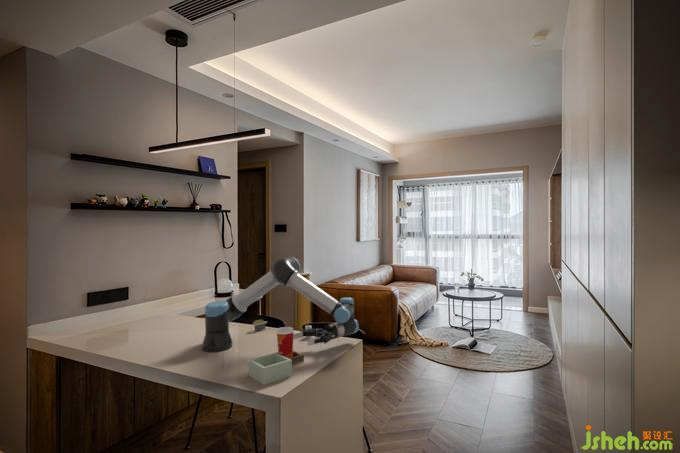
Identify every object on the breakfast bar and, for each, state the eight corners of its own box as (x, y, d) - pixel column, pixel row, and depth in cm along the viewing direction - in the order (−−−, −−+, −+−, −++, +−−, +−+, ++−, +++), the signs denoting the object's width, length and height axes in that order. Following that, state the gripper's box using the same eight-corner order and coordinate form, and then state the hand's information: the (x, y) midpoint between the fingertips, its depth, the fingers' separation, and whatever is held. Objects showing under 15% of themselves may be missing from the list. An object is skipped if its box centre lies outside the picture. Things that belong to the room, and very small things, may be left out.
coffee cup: (277, 358, 171) (276, 326, 172) (295, 357, 172) (294, 326, 172) (275, 365, 163) (275, 331, 163) (294, 364, 164) (293, 330, 164)
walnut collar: (267, 361, 168) (267, 354, 168) (289, 355, 176) (289, 348, 176) (281, 368, 159) (281, 361, 159) (303, 361, 167) (303, 354, 167)
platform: (241, 332, 221) (240, 321, 221) (264, 326, 235) (264, 316, 235) (253, 335, 213) (252, 324, 214) (276, 329, 227) (276, 318, 227)
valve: (301, 338, 204) (316, 342, 196) (301, 326, 204) (316, 330, 196) (310, 335, 209) (325, 339, 201) (310, 324, 209) (325, 327, 201)
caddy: (248, 375, 151) (248, 359, 151) (275, 367, 160) (275, 352, 160) (264, 384, 141) (263, 368, 142) (292, 375, 150) (291, 359, 150)
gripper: (350, 343, 177) (315, 353, 163) (318, 333, 196) (285, 342, 182) (350, 328, 177) (315, 337, 163) (318, 319, 196) (285, 327, 182)
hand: (299, 339), depth 172 cm, fingers open, 13 cm apart
